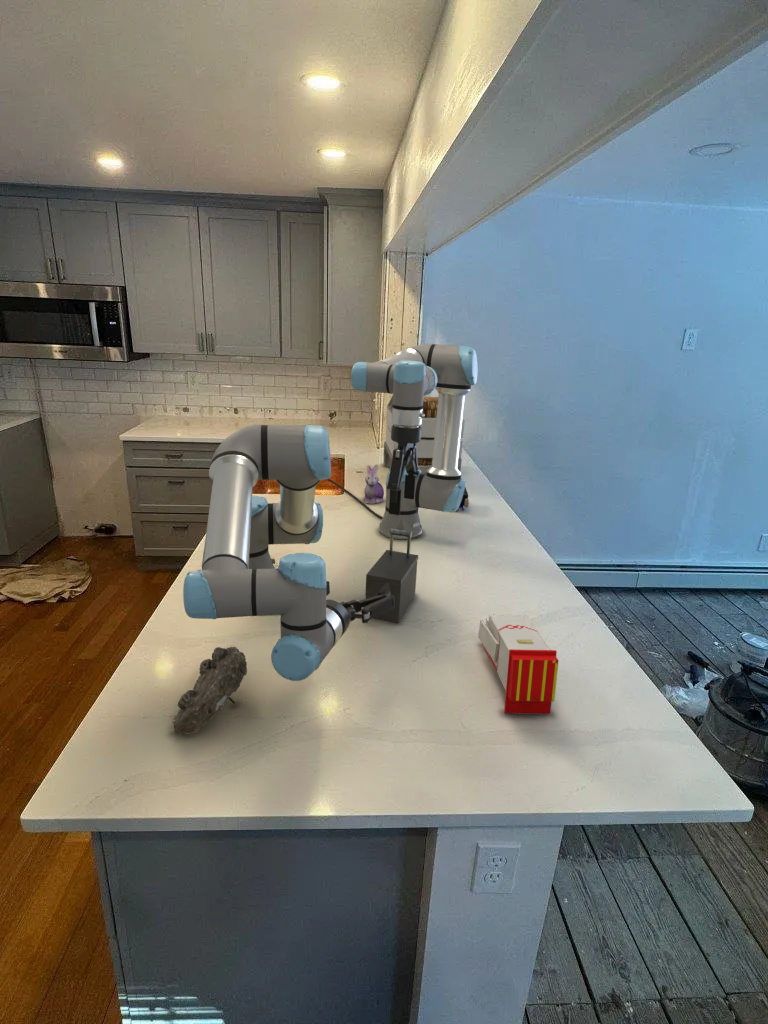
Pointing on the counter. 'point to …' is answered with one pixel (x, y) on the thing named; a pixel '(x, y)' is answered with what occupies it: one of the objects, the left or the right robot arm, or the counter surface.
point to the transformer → (427, 434)
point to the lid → (393, 562)
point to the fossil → (211, 689)
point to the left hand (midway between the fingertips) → (357, 588)
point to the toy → (521, 662)
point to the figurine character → (464, 500)
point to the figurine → (373, 486)
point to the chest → (395, 595)
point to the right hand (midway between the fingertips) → (402, 506)
